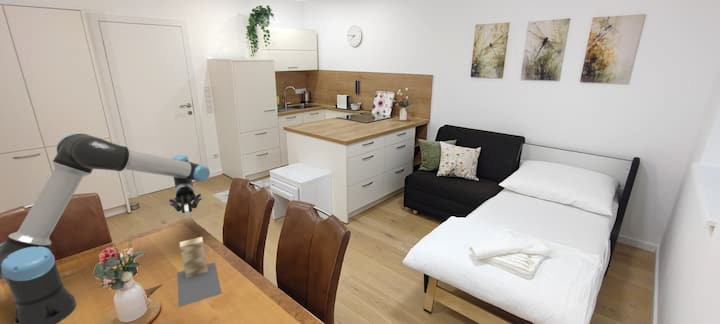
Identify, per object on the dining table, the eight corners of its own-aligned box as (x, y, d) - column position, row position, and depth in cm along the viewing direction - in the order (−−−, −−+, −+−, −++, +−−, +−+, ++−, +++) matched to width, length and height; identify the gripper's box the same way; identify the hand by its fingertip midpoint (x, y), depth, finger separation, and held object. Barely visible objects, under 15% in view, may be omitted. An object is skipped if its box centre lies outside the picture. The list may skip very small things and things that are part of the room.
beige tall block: (186, 278, 128) (179, 247, 124) (185, 272, 132) (179, 241, 128) (208, 271, 132) (203, 241, 128) (207, 266, 136) (202, 236, 131)
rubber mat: (178, 308, 114) (178, 307, 113) (177, 274, 132) (177, 272, 132) (221, 295, 120) (221, 293, 120) (215, 263, 138) (214, 262, 138)
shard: (163, 287, 125) (162, 283, 125) (164, 299, 119) (163, 295, 119) (129, 298, 120) (127, 294, 119) (128, 311, 114) (127, 307, 113)
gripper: (201, 198, 157) (206, 218, 137) (170, 204, 151) (170, 226, 131) (199, 183, 155) (203, 202, 135) (167, 189, 149) (167, 209, 129)
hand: (187, 214), depth 133 cm, fingers closed
